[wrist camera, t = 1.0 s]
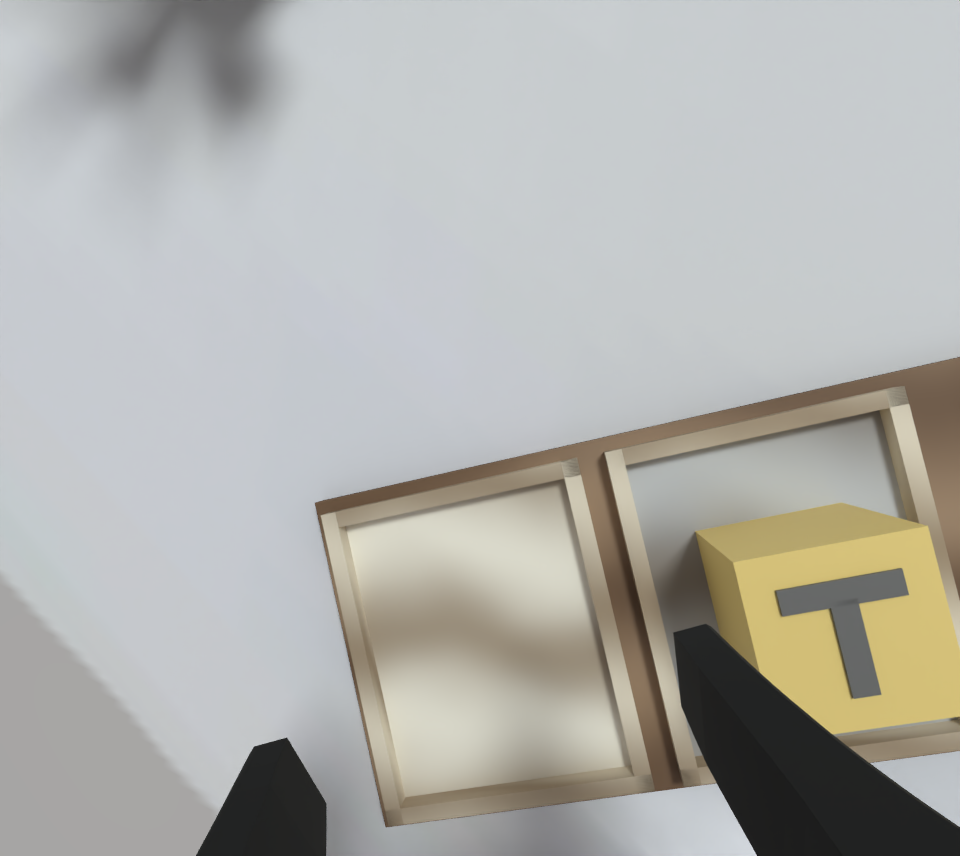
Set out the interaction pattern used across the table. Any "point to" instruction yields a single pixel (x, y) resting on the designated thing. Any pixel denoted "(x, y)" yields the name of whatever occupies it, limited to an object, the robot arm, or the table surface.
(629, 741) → the organizer board
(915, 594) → the letter cube
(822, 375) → the table surface
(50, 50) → the table surface
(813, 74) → the table surface
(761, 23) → the table surface
